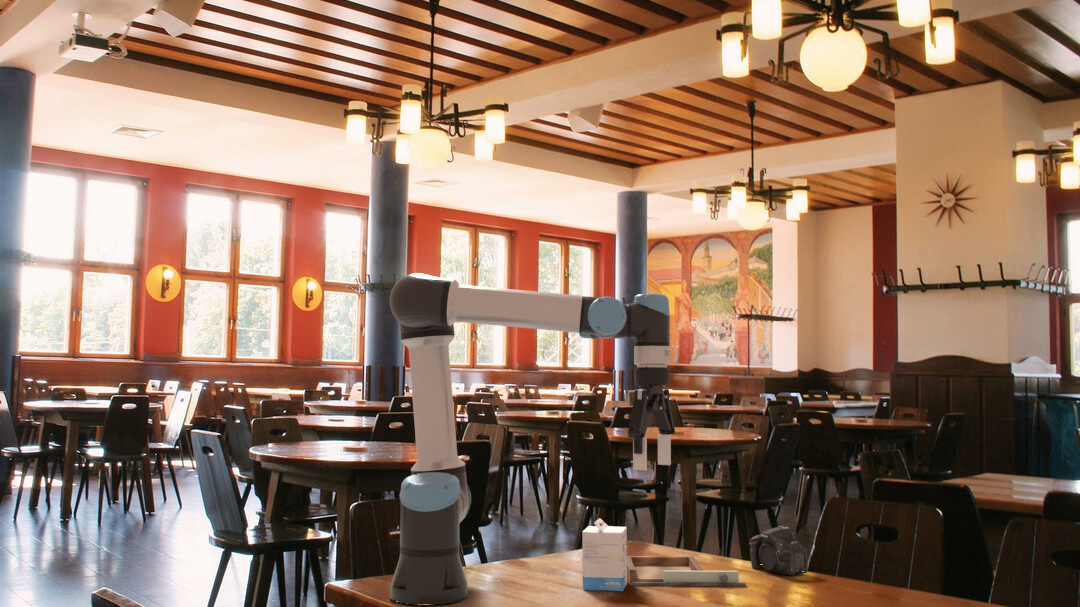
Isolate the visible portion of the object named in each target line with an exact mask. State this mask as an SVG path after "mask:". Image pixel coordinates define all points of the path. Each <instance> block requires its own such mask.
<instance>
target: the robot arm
mask: <svg viewBox="0 0 1080 607" xmlns="http://www.w3.org/2000/svg"><path fill="white" fill-rule="evenodd" d="M633 299H634V300H633V302H632V303H622V302H621V301H620V300H619V299H617V298H615V297H614V296H613V297H612V296H607V295H606V296H605V295H604V296H600V297H596V296H584V295H576V294H566V293H555V292H545V291H544V292H543V291H535V290H534V291H533V290H521V289H514V288H513V289H511V288H500V287H490V286H489V287H488V286H479V285H469V284H468V285H467V284H460V283H459V282H458V281H457V280H456V278H448V277H440V276H435V275H431V274H426V273H422V272H413V273H410V274H407V275H405V276H403V277H401V278H400V279H399V280H398V281H397V282H396V283H395V284H394V286H393V287H392V289H391V291H390V296H389V306H390V311H391V313H392V315H393V316H394V317H395V320H396V321H398V322H399V332H400V335H399V336H400V343H401V344H403V346H405V347H406V348H407V349H408V357H409V368H410V380H411V382H410V383H411V394H412V410H413V421H414V422H413V423H414V433H415V447H416V449H415V450H416V458H417V459H416V462H415V463H414V465H413V466H412V467H411V468H410V474H411V475H409V476H407V477H406V478H404V479H403V481H402V482H401V485H400V493H399V501H400V502H399V504H400V513H399V515H400V516H399V517H400V518H399V520H400V521H399V528H400V529H399V559H398V562H397V565H396V568H395V571H394V575H393V577H392V579H391V584H390V588H389V591H390V592H389V594H390V595H389V598H390V597H391V598H392V599H393V600H395V601H398V602H402V603H408V604H421V605H420V606H423V605H422V604H442V605H447V603H449V604H453V603H457V602H460V601H464V600H465V599H466V598H467V597H469V596H468V594H469V588H468V587H469V585H468V581H467V577H466V574H465V570H464V567H463V564H462V561H461V557H460V524H461V523H462V522H463V520H464V519H466V517H467V515H468V513H469V511H470V508H471V504H472V493H471V490H470V487H469V485H468V483H467V482H468V481H467V472H466V471H467V470H466V463H465V462H464V461H463V460H462V459H460V457H459V456H458V447H457V437H456V436H457V435H456V424H455V422H456V421H455V411H454V410H455V408H454V399H453V398H454V397H453V386H452V385H453V384H452V374H451V363H450V359H451V358H450V350H449V347H450V344H451V343H452V341H454V339H455V326H454V325H455V323H465V324H468V323H469V324H478V325H490V326H500V327H512V328H522V329H534V330H544V331H554V332H565V333H574V334H576V333H577V334H578V335H579V337H580V338H581V339H591V340H598V339H605V340H606V339H627V340H628V339H633V340H634V342H633V343H634V346H633V347H634V349H633V364H634V365H635V366H636V367H635V368H634V373H633V374H634V384H635V385H636V386H641V388H640V389H634V393H633V394H634V396H633V399H634V400H633V403H632V404H633V405H632V409H631V413H630V419H629V425H628V430H627V436H628V438H631V439H632V441H633V442H632V470H633V471H644V472H646V471H648V465H647V464H648V455H647V454H648V452H647V450H648V449H647V448H648V445H647V444H648V441H647V439H648V438H647V437H646V433H647V429H648V427H649V424H650V420H651V417H652V415H653V417H654V419H655V423H656V426H657V428H658V432H659V433H658V434H657V465H659V466H660V465H661V466H671V464H672V460H671V459H672V458H671V456H672V451H671V450H672V447H671V446H672V445H671V443H672V440H671V437H672V436H671V435H675V434H676V428H675V421H674V416H673V413H672V412H673V411H672V406H671V401H670V390H669V389H668V388H664V387H663V386H669V385H670V383H671V369H670V367H668V366H669V365H670V362H671V361H670V356H671V355H672V351H671V350H670V338H671V337H670V331H671V330H670V328H671V325H670V323H671V322H670V321H671V315H670V301H669V298H668V297H667V295H665V294H661V293H641V294H640V293H638V294H636V295H635V296H634V298H633ZM391 598H390V599H391ZM393 600H392V601H393ZM395 601H394V602H395ZM398 602H397V603H398ZM402 603H401V604H402ZM408 604H407V605H408Z"/></svg>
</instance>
